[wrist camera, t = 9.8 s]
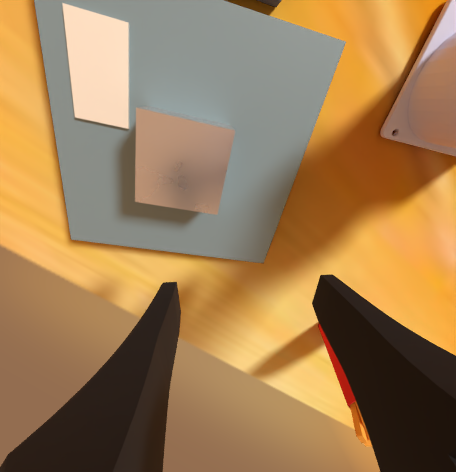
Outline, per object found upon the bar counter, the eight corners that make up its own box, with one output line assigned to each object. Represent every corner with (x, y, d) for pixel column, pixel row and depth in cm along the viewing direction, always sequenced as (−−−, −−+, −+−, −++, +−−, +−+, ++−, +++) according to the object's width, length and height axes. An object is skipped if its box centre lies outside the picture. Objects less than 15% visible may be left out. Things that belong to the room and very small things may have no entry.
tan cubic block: (227, 122, 16) (235, 130, 12) (214, 188, 19) (217, 214, 14) (155, 105, 15) (136, 107, 11) (151, 177, 18) (134, 201, 13)
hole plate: (329, 48, 14) (347, 41, 13) (258, 250, 22) (263, 264, 20) (50, -44, 11) (20, -71, 10) (82, 227, 19) (69, 240, 18)
